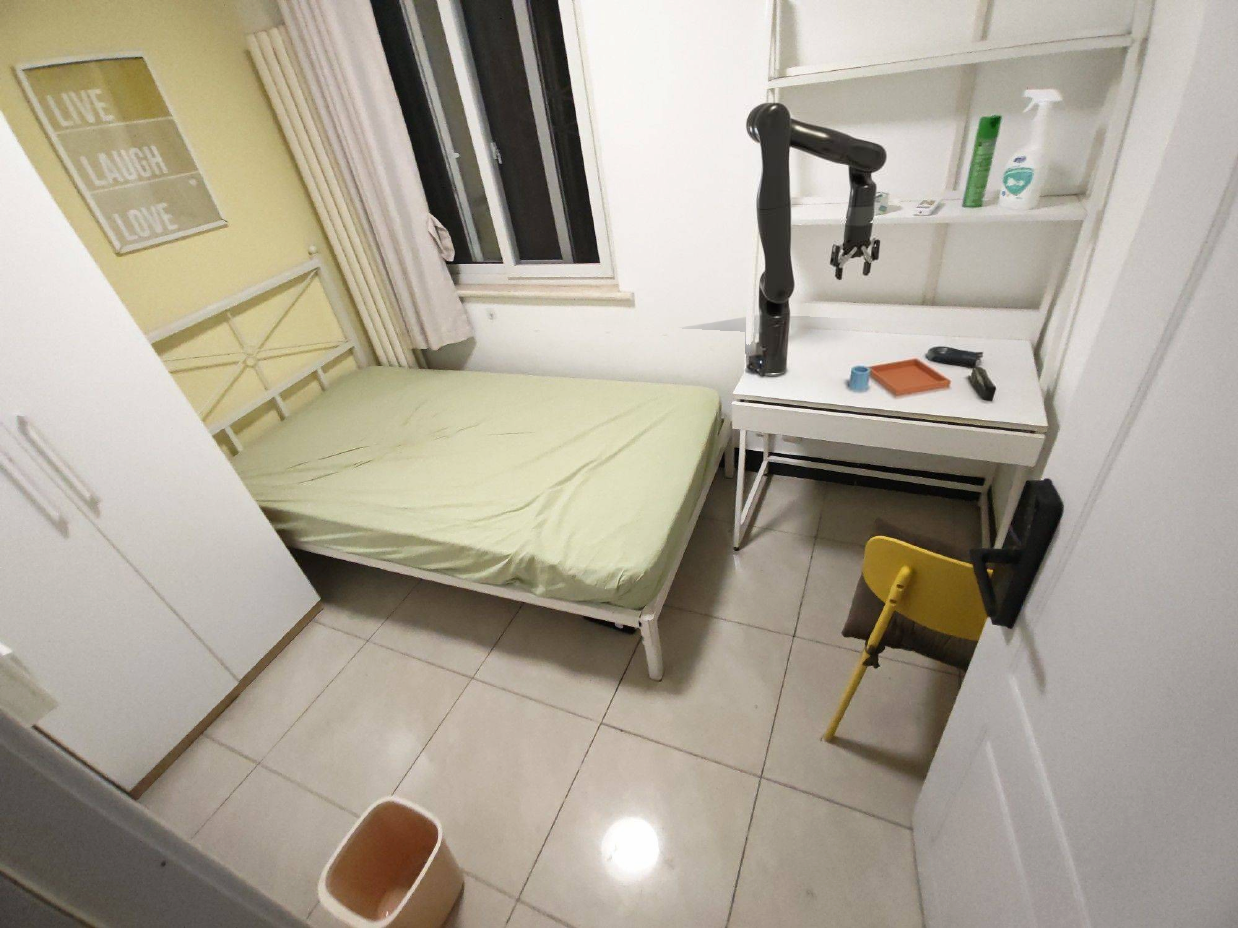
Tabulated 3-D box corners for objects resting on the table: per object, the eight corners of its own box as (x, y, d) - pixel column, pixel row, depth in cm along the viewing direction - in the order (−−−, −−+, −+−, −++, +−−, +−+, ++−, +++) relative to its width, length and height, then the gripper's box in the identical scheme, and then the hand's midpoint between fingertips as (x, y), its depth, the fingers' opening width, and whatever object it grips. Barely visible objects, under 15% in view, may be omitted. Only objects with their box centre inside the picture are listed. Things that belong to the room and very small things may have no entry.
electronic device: (980, 362, 177) (930, 348, 184) (987, 347, 173) (935, 334, 180) (972, 377, 172) (921, 363, 179) (979, 363, 168) (927, 348, 175)
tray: (895, 397, 162) (897, 390, 161) (865, 373, 176) (866, 366, 174) (949, 388, 163) (951, 380, 162) (915, 365, 177) (916, 358, 175)
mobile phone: (999, 387, 152) (980, 362, 163) (987, 387, 152) (969, 362, 164) (994, 402, 155) (975, 377, 166) (982, 403, 155) (964, 377, 167)
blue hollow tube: (854, 392, 167) (857, 374, 163) (845, 385, 171) (848, 367, 167) (870, 389, 167) (874, 371, 164) (861, 382, 171) (864, 364, 168)
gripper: (875, 215, 166) (867, 270, 175) (829, 222, 165) (824, 277, 174) (889, 220, 160) (880, 277, 169) (842, 227, 159) (835, 284, 168)
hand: (851, 277), depth 172 cm, fingers open, 8 cm apart
